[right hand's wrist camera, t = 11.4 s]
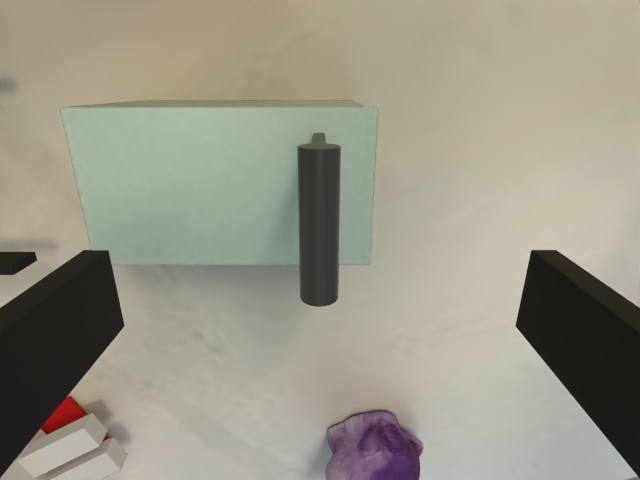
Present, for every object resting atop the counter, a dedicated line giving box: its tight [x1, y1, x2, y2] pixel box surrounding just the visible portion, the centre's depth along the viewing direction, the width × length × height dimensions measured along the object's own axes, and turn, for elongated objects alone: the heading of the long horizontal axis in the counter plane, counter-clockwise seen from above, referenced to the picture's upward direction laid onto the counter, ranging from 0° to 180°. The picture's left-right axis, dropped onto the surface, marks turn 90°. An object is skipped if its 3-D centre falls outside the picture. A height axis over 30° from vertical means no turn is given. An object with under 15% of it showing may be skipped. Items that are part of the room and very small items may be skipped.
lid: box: [60, 107, 378, 306], centre depth 21 cm, size 18×10×8 cm, turn 90°
